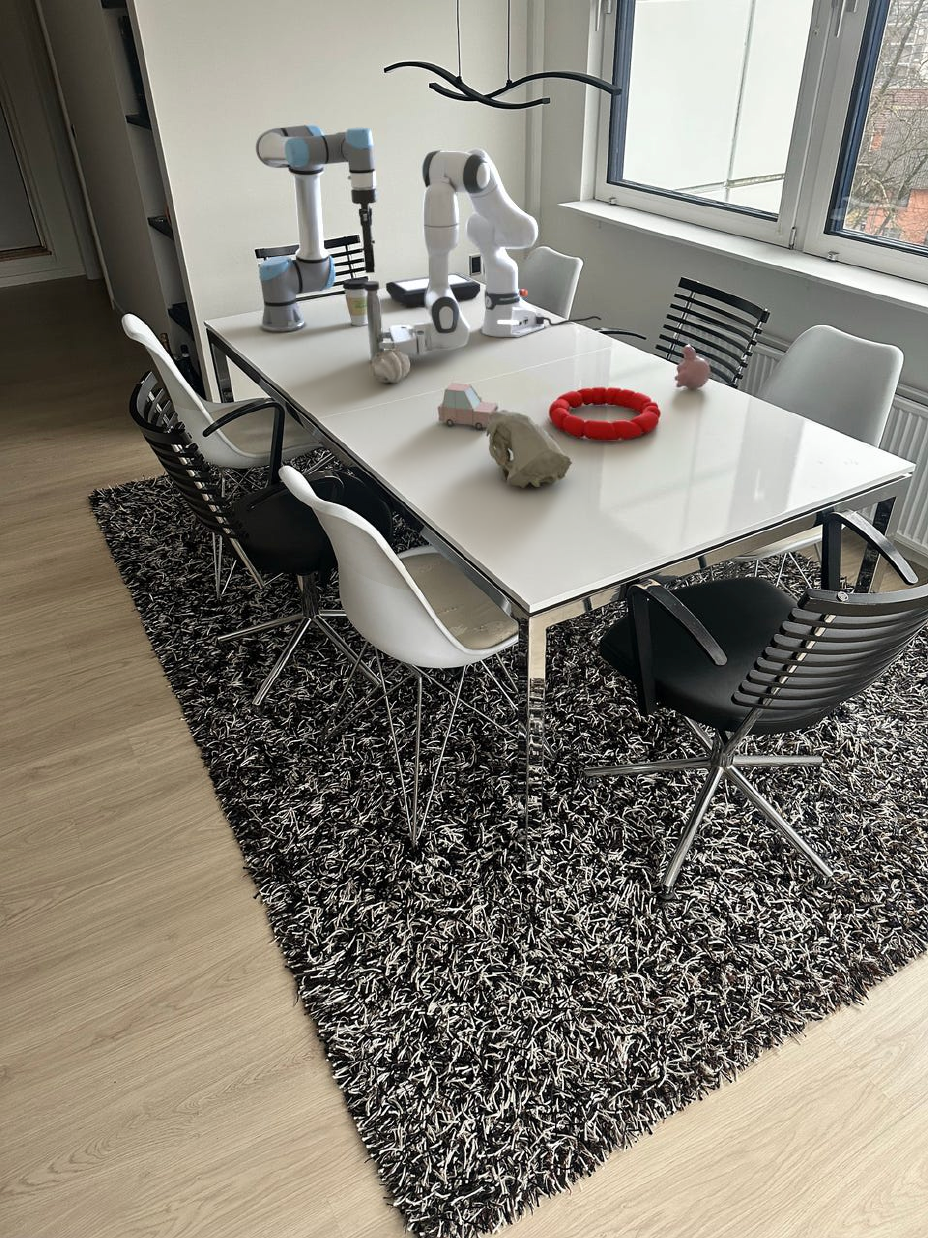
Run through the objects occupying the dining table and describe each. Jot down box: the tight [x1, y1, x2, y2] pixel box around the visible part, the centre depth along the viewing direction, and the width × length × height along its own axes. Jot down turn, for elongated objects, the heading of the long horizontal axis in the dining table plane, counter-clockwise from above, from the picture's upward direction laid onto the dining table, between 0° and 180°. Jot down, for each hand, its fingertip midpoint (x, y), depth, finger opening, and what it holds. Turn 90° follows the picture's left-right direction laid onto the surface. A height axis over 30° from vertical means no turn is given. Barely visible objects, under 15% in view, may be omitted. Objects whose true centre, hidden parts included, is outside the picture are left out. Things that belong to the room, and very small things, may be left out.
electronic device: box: [385, 272, 481, 309], centre depth 351 cm, size 32×6×20 cm
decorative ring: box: [548, 386, 661, 442], centre depth 242 cm, size 7×30×30 cm
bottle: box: [366, 290, 385, 363], centre depth 285 cm, size 4×4×24 cm
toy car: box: [437, 382, 499, 431], centre depth 243 cm, size 9×15×10 cm, turn 70°
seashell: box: [371, 349, 411, 384], centre depth 271 cm, size 10×15×10 cm
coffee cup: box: [342, 277, 369, 327], centre depth 323 cm, size 10×10×15 cm
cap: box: [364, 280, 380, 292], centre depth 278 cm, size 4×4×2 cm
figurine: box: [674, 344, 711, 390], centre depth 259 cm, size 9×11×12 cm
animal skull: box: [485, 409, 573, 489], centre depth 216 cm, size 17×25×20 cm
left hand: (370, 269), depth 275 cm, fingers open, 7 cm apart
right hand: (377, 340), depth 288 cm, fingers open, 8 cm apart
